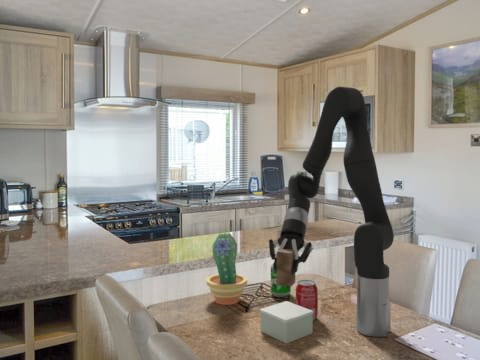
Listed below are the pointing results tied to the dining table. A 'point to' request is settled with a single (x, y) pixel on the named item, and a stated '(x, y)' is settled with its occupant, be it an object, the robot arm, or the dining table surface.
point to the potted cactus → (226, 271)
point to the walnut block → (285, 267)
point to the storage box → (286, 321)
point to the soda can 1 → (278, 289)
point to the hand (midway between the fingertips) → (284, 271)
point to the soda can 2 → (307, 296)
